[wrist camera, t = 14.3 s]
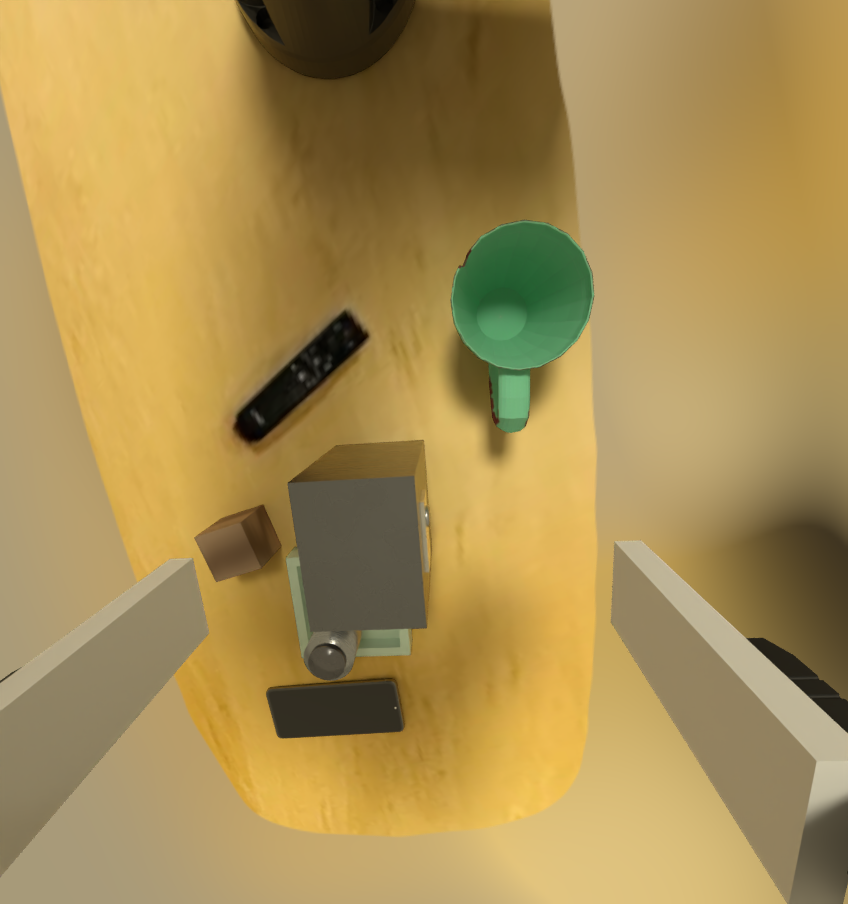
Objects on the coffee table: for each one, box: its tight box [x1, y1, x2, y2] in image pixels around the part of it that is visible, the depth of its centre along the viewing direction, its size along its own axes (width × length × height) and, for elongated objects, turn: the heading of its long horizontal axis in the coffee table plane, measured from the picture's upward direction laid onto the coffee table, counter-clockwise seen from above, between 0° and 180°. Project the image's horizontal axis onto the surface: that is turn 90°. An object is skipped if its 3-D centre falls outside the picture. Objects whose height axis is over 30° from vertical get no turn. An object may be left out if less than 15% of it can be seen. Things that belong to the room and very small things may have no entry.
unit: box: [288, 440, 432, 632], centre depth 35 cm, size 12×10×13 cm
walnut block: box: [194, 505, 282, 582], centre depth 41 cm, size 5×5×5 cm
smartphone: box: [266, 678, 405, 738], centre depth 48 cm, size 7×1×16 cm
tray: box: [286, 547, 412, 658], centre depth 43 cm, size 12×12×2 cm
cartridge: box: [304, 630, 363, 680], centre depth 39 cm, size 4×4×10 cm
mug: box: [451, 220, 594, 433], centre depth 33 cm, size 15×10×10 cm
